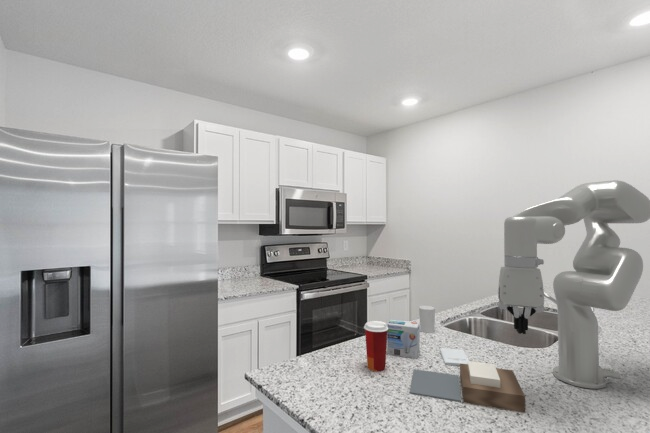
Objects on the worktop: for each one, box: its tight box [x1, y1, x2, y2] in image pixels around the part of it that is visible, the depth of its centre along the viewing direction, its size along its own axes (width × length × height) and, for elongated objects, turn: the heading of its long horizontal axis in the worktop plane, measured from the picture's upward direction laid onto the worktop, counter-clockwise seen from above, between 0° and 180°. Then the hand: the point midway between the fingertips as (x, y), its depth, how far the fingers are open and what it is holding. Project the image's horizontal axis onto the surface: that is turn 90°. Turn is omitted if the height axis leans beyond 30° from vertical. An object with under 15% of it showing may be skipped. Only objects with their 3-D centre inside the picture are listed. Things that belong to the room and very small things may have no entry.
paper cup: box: [363, 320, 388, 373], centre depth 106 cm, size 8×8×14 cm
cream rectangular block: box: [468, 360, 500, 388], centre depth 90 cm, size 7×10×2 cm
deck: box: [459, 364, 526, 413], centre depth 90 cm, size 14×15×4 cm
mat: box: [409, 368, 462, 403], centre depth 94 cm, size 13×15×1 cm
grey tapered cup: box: [418, 305, 436, 334], centre depth 142 cm, size 7×7×10 cm
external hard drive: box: [439, 347, 470, 367], centre depth 113 cm, size 2×8×12 cm
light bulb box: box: [386, 318, 421, 360], centre depth 118 cm, size 11×7×11 cm, turn 68°
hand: (520, 332), depth 87 cm, fingers closed
